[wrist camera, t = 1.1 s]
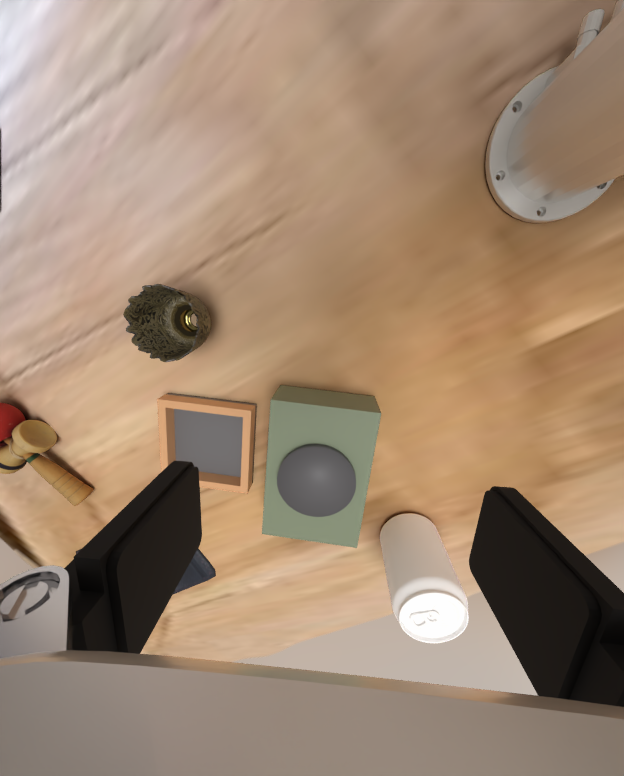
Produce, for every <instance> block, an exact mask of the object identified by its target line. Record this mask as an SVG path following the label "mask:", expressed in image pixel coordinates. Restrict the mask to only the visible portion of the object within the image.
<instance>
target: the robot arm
mask: <svg viewBox="0 0 624 776" xmlns="http://www.w3.org/2000/svg"><path fill="white" fill-rule="evenodd" d="M604 14H605V13H604V10H602V9H596V10H593V11H591V12H589V13H588V14H587V15H586V16H584V18H583V20H582V23H581V27H580V31H579V34H578V38H577V45H576V48H575V50H574V51H573V52H572V53H571V54H570V55H569V56H568V57H567V58H566V59H565V60H564V62H563V63H562V64H561V65H560V66H557V67H554V68H551V69H549V70H547V71H545V72H544V73H542V74H540V75H538V76H536V77H535V78H534V79H533V80H531V81H530V82H529V83H528V84H526V85H525V86H524V87H523V88H522V89H521V90H520V91H519V92H518V93H517V94H516V95H515V96H514V98H513V99H512V100H511V101H510V102H509V104H508V105H507V106H506V107H505V109H504V110H503V111H502V113H501V115H500V117H499V118H498V120H497V122H496V123H495V126H494V128H493V131H492V133H491V136H490V138H489V143H488V147H487V151H486V163H485V169H486V177H487V182H488V185H489V189H490V192H491V194H492V195H493V197H494V199H495V201H496V202H497V204H498V205H499V206H500V207H501V208H502V209H503V210H504V211H505V212H507V213H508V214H510V215H511V216H513V217H514V218H517V219H519V220H522V221H525V222H532V223H546V222H552V221H556V220H560V219H563V218H565V217H568V216H571V215H573V214H575V213H577V212H579V211H581V210H583V209H584V208H586V207H588V206H589V205H590V204H591V203H593V202H594V201H595V200H597V199H598V198H599V197H600V196H601V195H602V194H603V193H604V192H605V191H606V190H607V189H608V188H609V187H610V185H611V184H612V183H613V181H614V180H615V178H617V177H619V176H621V175H623V174H624V0H618V1H617V2H616V4H615V7H614V10H613V14H612V17H611V20H610V23H609V24H608V25H607V26H606V27H605V28H604V29H603V30H602V31H601V32H600V33H599V31H600V27H601V24H602V20H603V17H604ZM513 111H514V112H513ZM496 177H497V178H498V180H497V179H496ZM537 213H538V215H537ZM201 537H202V528H201V507H200V486H199V469H198V467H194V464H193V463H192V462H187V461H173V462H172V463H171V464H169V465H168V466H167V467H166V468H165V469H164V470H163V471H162V472H161V473H160V474H159V475H158V476H157V477H156V478H155V479H154V480H153V481H152V482H151V483H150V484H149V485H148V486H147V487H146V488H145V489H144V490H143V491H141V492H140V493H139V494H138V495H137V496H136V497H135V498H134V499H133V500H132V501H131V502H130V503H129V504H128V505H127V506H126V507H125V508H124V509H123V510H122V511H121V512H120V513H119V514H118V515H117V516H116V517H115V518H113V519H112V520H111V521H110V522H109V523H108V524H107V525H106V526H105V527H104V528H103V529H102V530H101V531H100V532H99V533H98V534H97V535H96V536H95V537H94V538H93V539H92V540H91V541H90V542H89V543H88V544H87V545H86V546H84V547H83V548H82V549H81V550H80V551H79V552H78V553H77V554H76V555H75V556H74V560H73V561H72V562H71V563H70V564H68V565H67V566H66V567H65V568H62V567H59V566H42V567H38V568H35V569H31V570H28V571H25V572H23V573H21V574H18V575H16V576H14V577H12V578H10V579H9V580H7V581H5V582H4V583H2V584H0V776H624V593H623V592H622V591H621V590H620V589H619V588H618V587H617V586H616V585H615V584H614V583H613V582H612V581H611V580H610V579H608V577H606V576H605V575H604V574H603V573H602V572H601V571H600V570H599V569H598V568H597V567H596V566H595V565H594V564H593V563H592V562H591V561H590V560H589V559H588V558H587V557H586V556H585V555H584V554H583V553H582V552H580V551H579V550H578V549H577V548H576V547H575V546H574V545H573V544H572V543H571V542H570V541H569V540H568V539H567V538H566V537H565V536H564V535H563V534H562V533H561V532H560V531H559V530H558V529H557V528H556V527H554V526H553V525H552V524H551V523H550V522H549V521H548V520H547V519H546V518H545V517H544V516H543V515H542V514H541V513H540V512H539V511H538V510H537V509H536V508H535V507H534V506H533V505H532V504H531V503H530V502H529V501H527V500H526V499H525V498H524V497H523V496H522V495H521V494H520V493H519V492H518V491H517V490H516V489H514V488H509V487H496V486H494V487H492V488H491V489H490V491H486V492H485V495H484V499H483V503H482V507H481V512H480V516H479V520H478V524H477V528H476V533H475V537H474V541H473V545H472V549H471V554H470V558H469V565H470V570H471V572H472V574H473V576H474V578H475V580H476V582H477V583H478V585H479V587H480V589H481V591H482V593H483V594H484V596H485V598H486V600H487V602H488V603H489V605H490V607H491V609H492V611H493V613H494V615H495V617H496V618H497V620H498V622H499V624H500V626H501V628H502V629H503V631H504V633H505V635H506V637H507V639H508V640H509V642H510V644H511V646H512V648H513V650H514V651H515V653H516V655H517V657H518V659H519V661H520V663H521V664H522V666H523V668H524V670H525V672H526V674H527V676H528V678H529V679H530V681H531V683H532V685H533V687H534V689H535V690H536V692H537V694H538V696H534V695H526V694H517V693H508V692H499V691H491V690H481V689H474V688H465V687H456V686H448V685H439V684H430V683H421V682H411V681H403V680H393V679H383V678H375V677H366V676H357V675H347V674H338V673H329V672H320V671H310V670H301V669H291V668H281V667H271V666H262V665H252V664H243V663H233V662H223V661H213V660H203V659H193V658H184V657H172V656H160V655H148V654H140V653H141V651H142V649H143V647H144V645H145V643H146V642H147V640H148V638H149V636H150V634H151V633H152V631H153V629H154V627H155V625H156V624H157V622H158V620H159V618H160V616H161V614H162V613H163V611H164V609H165V607H166V605H167V604H168V602H169V600H170V598H171V596H172V595H173V593H174V591H175V589H176V587H177V585H178V584H179V582H180V580H181V578H182V576H183V575H184V573H185V571H186V569H187V567H188V566H189V564H190V562H191V560H192V558H193V557H194V555H195V553H196V551H197V549H198V547H199V545H200V542H201Z"/></svg>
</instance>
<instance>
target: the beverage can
mask: <svg viewBox="0 0 624 776" xmlns="http://www.w3.org/2000/svg"><path fill="white" fill-rule="evenodd" d="M380 543H381V549H382V554H383V560H384V565H385V571H386V576H387V582H388V588H389V593H390V599H391V604H392V609H393V613H394V615H395V617H396V618H397V620H398V621H399V623H400V625H401V627H402V629H403V630H404V631H405V633H406V634H408V635H409V636H411V637H412V638H414V639H416V640H419V641H421V642H427V643H442V642H446V641H450V640H452V639H454V638H456V637H457V636H459V635H460V634H461V633H462V632H463V631H464V630H465V628H466V626H467V624H468V620H469V618H468V617H469V616H468V601H467V597H466V595H465V593H464V590H463V588H462V586H461V583H460V581H459V579H458V577H457V574H456V572H455V570H454V567H453V565H452V563H451V561H450V558H449V556H448V554H447V551H446V549H445V547H444V545H443V542H442V540H441V538H440V535H439V533H438V531H437V529H436V527H435V525H434V524H433V523H432V522H431V521H430V520H429V519H427V518H426V517H424V516H421V515H418V514H412V513H406V514H400V515H397V516H395V517H393V518H391V519H390V520H388V521H387V522H386V523H385V524H384V526H383V527H382V529H381V532H380Z"/></svg>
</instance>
